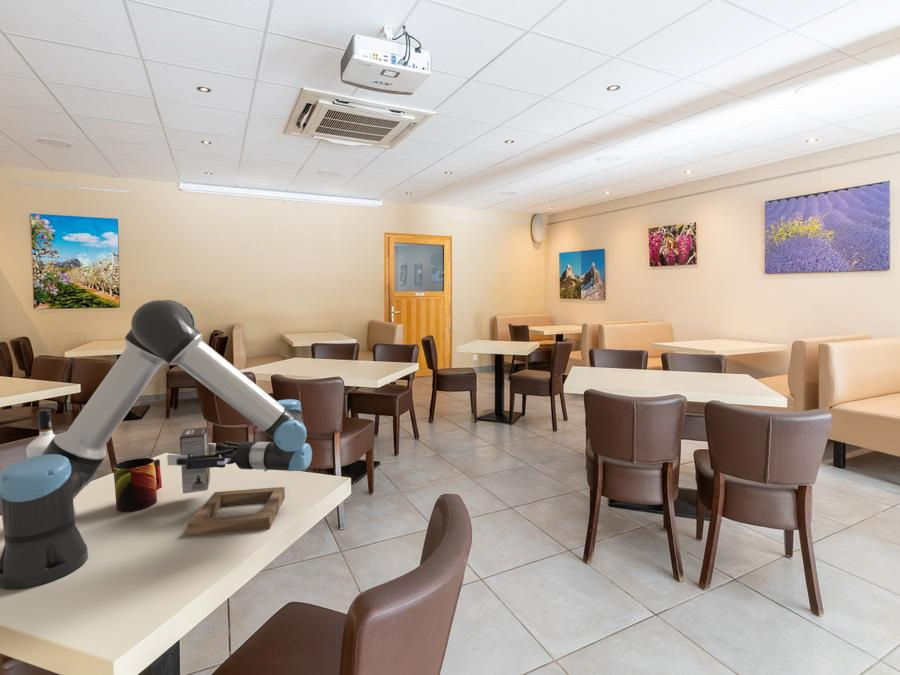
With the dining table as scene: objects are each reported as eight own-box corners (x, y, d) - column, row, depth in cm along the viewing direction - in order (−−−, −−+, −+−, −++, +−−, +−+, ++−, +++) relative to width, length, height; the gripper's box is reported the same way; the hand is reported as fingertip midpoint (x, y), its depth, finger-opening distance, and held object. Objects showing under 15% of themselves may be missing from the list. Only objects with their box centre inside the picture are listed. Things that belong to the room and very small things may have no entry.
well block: (269, 528, 122) (269, 517, 121) (188, 535, 119) (187, 523, 119) (285, 496, 141) (284, 486, 141) (215, 502, 139) (215, 492, 138)
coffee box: (186, 482, 143) (183, 428, 141) (210, 479, 145) (208, 426, 144) (182, 494, 134) (179, 436, 133) (208, 490, 136) (205, 434, 135)
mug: (162, 490, 148) (159, 452, 147) (153, 508, 136) (150, 466, 135) (125, 496, 145) (121, 456, 144) (112, 515, 132) (109, 471, 131)
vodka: (49, 515, 133) (39, 406, 130) (84, 513, 133) (75, 405, 131) (21, 531, 123) (10, 414, 121) (59, 529, 124) (48, 413, 122)
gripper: (232, 484, 125) (153, 481, 128) (275, 455, 148) (207, 453, 151) (231, 455, 125) (152, 453, 128) (274, 431, 148) (206, 429, 150)
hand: (182, 453), depth 139 cm, fingers closed on coffee box, 11 cm apart
